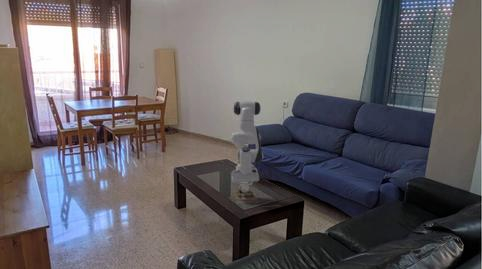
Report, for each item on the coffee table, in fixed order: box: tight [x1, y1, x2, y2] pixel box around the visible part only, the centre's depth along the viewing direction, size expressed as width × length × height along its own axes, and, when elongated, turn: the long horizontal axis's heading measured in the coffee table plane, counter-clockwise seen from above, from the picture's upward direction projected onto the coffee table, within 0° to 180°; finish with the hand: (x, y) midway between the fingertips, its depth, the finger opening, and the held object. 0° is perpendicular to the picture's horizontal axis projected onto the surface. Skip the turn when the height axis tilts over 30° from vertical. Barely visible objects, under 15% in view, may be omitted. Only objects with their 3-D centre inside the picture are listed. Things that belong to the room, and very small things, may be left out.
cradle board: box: [232, 188, 260, 204], centre depth 249 cm, size 22×16×3 cm
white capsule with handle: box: [240, 182, 250, 193], centre depth 249 cm, size 10×6×7 cm, turn 10°
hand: (245, 187), depth 250 cm, fingers closed on white capsule with handle, 6 cm apart
